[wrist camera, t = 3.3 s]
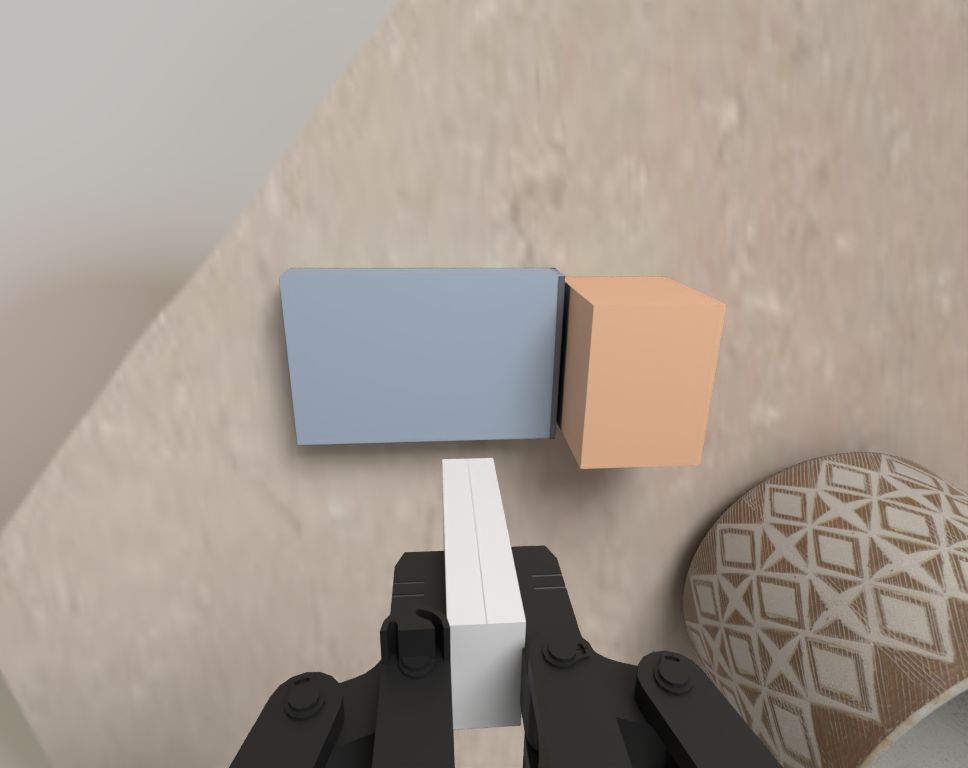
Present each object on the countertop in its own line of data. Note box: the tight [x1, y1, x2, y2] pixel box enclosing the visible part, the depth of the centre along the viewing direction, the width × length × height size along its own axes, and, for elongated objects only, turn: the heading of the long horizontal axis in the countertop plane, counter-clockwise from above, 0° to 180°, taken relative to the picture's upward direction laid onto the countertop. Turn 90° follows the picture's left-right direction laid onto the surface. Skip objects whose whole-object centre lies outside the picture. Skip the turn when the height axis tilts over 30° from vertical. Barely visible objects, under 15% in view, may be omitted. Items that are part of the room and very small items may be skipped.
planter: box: [683, 452, 968, 768], centre depth 33 cm, size 19×19×16 cm
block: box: [556, 277, 726, 469], centre depth 30 cm, size 6×8×7 cm
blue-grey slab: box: [279, 268, 565, 445], centre depth 31 cm, size 14×9×3 cm, turn 89°
